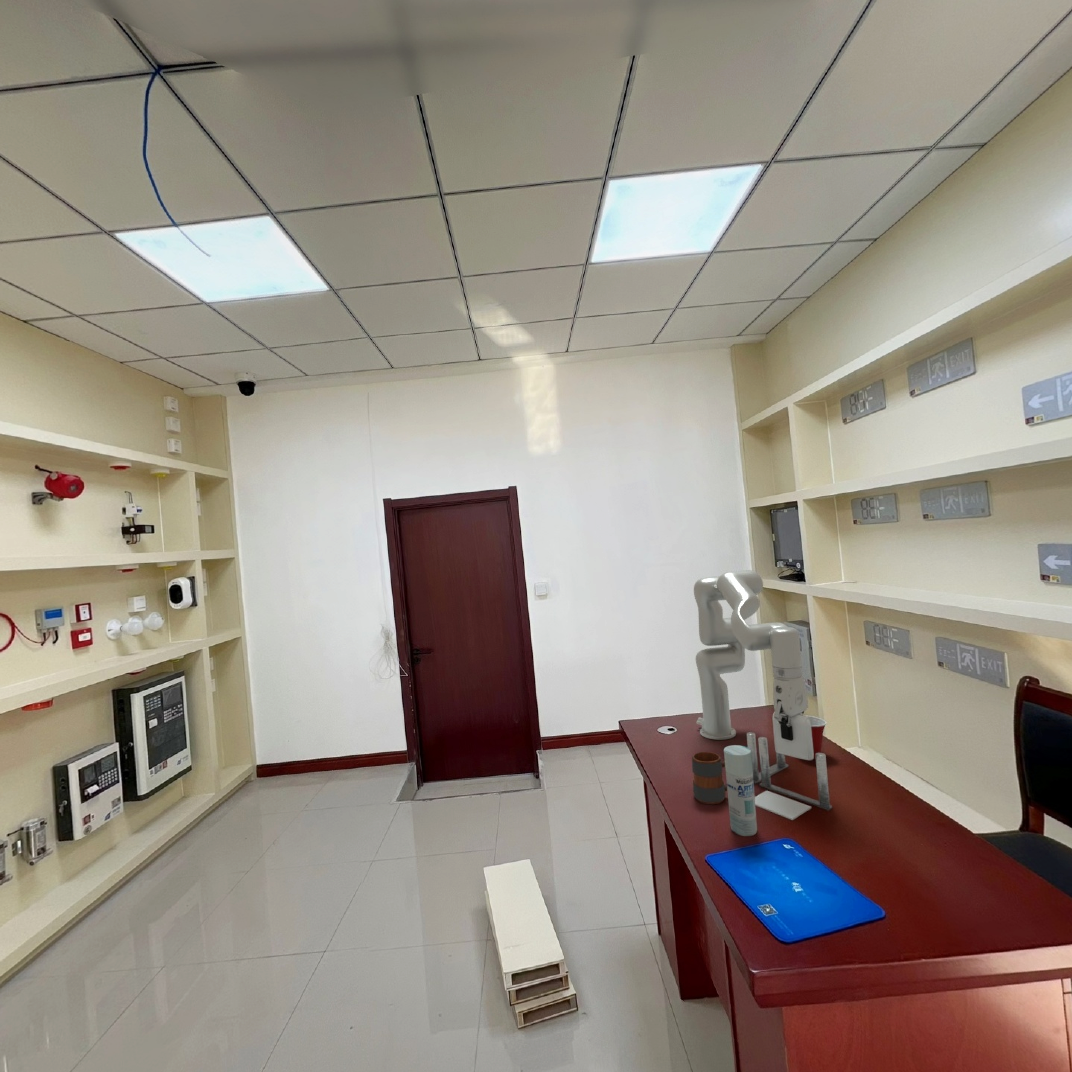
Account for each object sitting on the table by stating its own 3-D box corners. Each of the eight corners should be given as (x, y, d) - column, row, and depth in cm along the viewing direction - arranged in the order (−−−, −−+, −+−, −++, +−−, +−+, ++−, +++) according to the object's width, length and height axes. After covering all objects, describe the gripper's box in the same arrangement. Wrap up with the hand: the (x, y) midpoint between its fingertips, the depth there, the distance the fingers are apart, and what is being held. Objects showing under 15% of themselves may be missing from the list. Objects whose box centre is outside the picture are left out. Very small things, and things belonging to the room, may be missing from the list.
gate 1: (747, 780, 164) (743, 733, 164) (779, 763, 174) (776, 719, 174) (756, 783, 162) (752, 736, 162) (788, 766, 171) (784, 721, 171)
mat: (747, 802, 151) (747, 801, 151) (766, 791, 156) (766, 790, 156) (792, 820, 140) (792, 818, 140) (811, 808, 145) (811, 806, 145)
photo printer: (772, 753, 156) (769, 709, 156) (779, 748, 159) (776, 705, 159) (809, 762, 148) (805, 716, 148) (816, 757, 151) (812, 712, 151)
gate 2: (759, 786, 160) (755, 738, 160) (764, 783, 161) (760, 736, 161) (828, 810, 143) (823, 757, 144) (832, 807, 145) (828, 754, 145)
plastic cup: (837, 760, 172) (833, 722, 172) (804, 764, 172) (800, 726, 172) (817, 747, 183) (814, 712, 183) (786, 751, 183) (783, 715, 183)
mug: (741, 804, 150) (737, 762, 150) (696, 805, 151) (692, 763, 152) (734, 790, 158) (730, 750, 159) (691, 791, 160) (688, 751, 160)
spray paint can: (744, 820, 142) (738, 743, 142) (763, 832, 136) (756, 751, 136) (724, 827, 139) (718, 748, 140) (742, 839, 133) (736, 757, 134)
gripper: (782, 680, 146) (788, 748, 146) (816, 667, 155) (821, 732, 155) (757, 675, 152) (762, 741, 152) (791, 664, 162) (796, 725, 161)
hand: (792, 736), depth 154 cm, fingers closed on photo printer, 4 cm apart
